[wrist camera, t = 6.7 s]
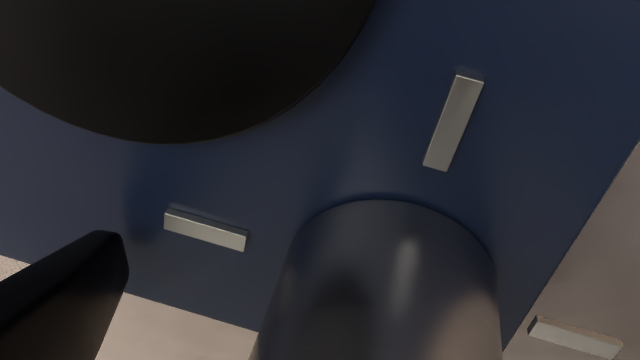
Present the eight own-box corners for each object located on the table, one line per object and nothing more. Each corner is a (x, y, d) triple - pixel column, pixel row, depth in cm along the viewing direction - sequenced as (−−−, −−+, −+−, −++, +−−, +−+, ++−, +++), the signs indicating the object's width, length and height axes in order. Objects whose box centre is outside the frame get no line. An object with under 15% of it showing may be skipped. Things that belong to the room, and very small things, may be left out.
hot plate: (511, 359, 14) (521, 469, 11) (12, 211, 14) (-68, 290, 12) (980, -342, 6) (1260, -404, 4) (-121, -604, 7) (-399, -782, 4)
